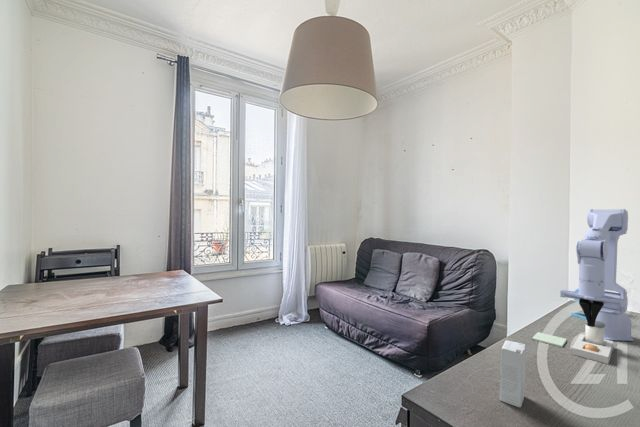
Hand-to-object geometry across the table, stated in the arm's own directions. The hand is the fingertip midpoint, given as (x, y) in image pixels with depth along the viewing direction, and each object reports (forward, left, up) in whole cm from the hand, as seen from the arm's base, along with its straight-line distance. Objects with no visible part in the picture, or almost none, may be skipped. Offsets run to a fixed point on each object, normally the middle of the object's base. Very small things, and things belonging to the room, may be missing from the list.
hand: (591, 325), depth 91 cm
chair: (-28, -35, -9) cm, 46 cm away
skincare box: (+36, +24, -9) cm, 44 cm away
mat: (+5, -11, -9) cm, 15 cm away
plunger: (0, 0, -8) cm, 8 cm away
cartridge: (-6, -6, -9) cm, 12 cm away
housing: (-3, -3, -9) cm, 10 cm away
